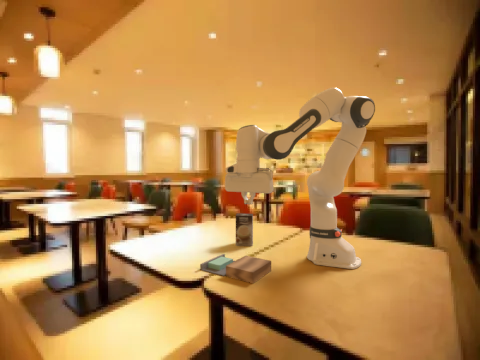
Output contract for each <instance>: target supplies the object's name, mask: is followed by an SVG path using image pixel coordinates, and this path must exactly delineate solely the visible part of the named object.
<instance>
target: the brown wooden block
mask: <svg viewBox="0 0 480 360" xmlns="http://www.w3.org/2000/svg"><path fill="white" fill-rule="evenodd" d="M233 261H234V262H232V263H230V264H228V265H226V277H227V276H228V278H231V277H232V278H231V279H234V278H235V280H238V279H239V280H238V281H242V280H243V282H246V283H249V282H250V284H255V282H257V281H259V280H260V279H261V278H263V277H265V276H266V275H267V274H268V273H270V272H272V260H270V259H269V260H268V259H265V258H259V257H254V256H249V255H244V256H243V257H240V258H238V259H236V260H233Z"/></svg>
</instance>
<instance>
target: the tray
mask: <svg viewBox="0 0 480 360" xmlns="http://www.w3.org/2000/svg"><path fill="white" fill-rule="evenodd" d="M225 255H226V254H225V253H221V254H219V255H217V256H216V257H213V258H211V259H209V260H206V261H204V262H202V263H200V265H199V266H200V267H199V270H200V271H201V272H202V271H203V272H206V273H211V274H214V275H218V276H221V275H222V276H221V277H225V275H226V267H225V268H224V269H222V270H216V269H212V268H208V262H211V261H213V260H215V259H217V258H219V257H226V256H225ZM234 261H235V260H233V262H234Z"/></svg>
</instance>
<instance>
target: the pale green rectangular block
mask: <svg viewBox="0 0 480 360" xmlns="http://www.w3.org/2000/svg"><path fill="white" fill-rule="evenodd" d="M233 261H234V258H229V257H226V256H225V257H219V258H217V259H215V260H213V261H211V262H208V268H212V269H216V270H222V269H224V268H225V267H226V265H228V264H230V263H232V262H233Z"/></svg>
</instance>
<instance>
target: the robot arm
mask: <svg viewBox="0 0 480 360" xmlns="http://www.w3.org/2000/svg"><path fill="white" fill-rule="evenodd" d="M375 112H376V105H375V102H374V100H373V99H372V98H370V97H368V96H364V95H362V96H361V95H360V96H358V95H349V96H344V93H343V92H342V90H341V89H339V88H337V87H329V88H327V89H324V90H323V91H320V92H319V93H317V94H316V95H314V96H313V97H311V98H310V99H308V100H307V101H306V102H305V103H304V104H303V105H302V106H301V107H300V108H299V112H298V113H299V114H298V116H299V118H297V119H296V120H295V121H293V122H292V123H291V124H290V125H288V126H287V127H286V128H283V129H280V130H279V129H278V130H275V131H273V132H271V133H270V132H268V131H265V130H263V129H261V128H260V127H258V125H257V124H249V125H245V126H241V127H240V128H239V129H238V130H237V132H236V140H235V141H236V142H235V144H236V145H235V147H236V148H235V150H236V154H237V156H236V163H235V164H231V165H230V166H227V167H226V168H225V173H226V174H225V177H224V189H225V191H226V192H232V193H233V192H234V193H235V192H236V193H241V197H242V198H243V203H244V205H253V204H254V199H255V197H256V194H271V193H273V192H274V190H275V189H274V182H273V181H274V179H273V176H274V173H273V170H272V169H271V168H269V167H261V165H260V158H262V159H265V160H279V161H280V160H284V159H286V158H288V157H289V156H290V154H291V153H292V151H293V149H294V147H295V146H296V144H298V143H299V141H300V140H301V139H302V138H304V137H305V136H307V135H308V134H309V133H310V132H311V131H312V130H314V129H316V128H318V127H320V126H322V125H324V124H325V123H326V122H328V121H332V122H334V123H341V127H340V130H339V131H338V133H337V135H336V136H335V138H334V140H333V142H332V143H331V144H330V147H329V148H328V150H327V151H326V153H325V158H324V161H323V164H322V167H321V168H320V170H315V171H313V172H312V173H310V175H309V176H308V177H307V179H306V185H307V190H308V199H309V205H310V226H309V239H310V241H309V246H308V247H309V248H308V252H307V256H306V258H307V259H308V260H309V261H310V262H312V263H313V264H314V265H317V266H324V267H325V266H326V267H332V268H338V269H339V268H341V269H349V270H354V269H358V268H359V267H361V265H362V259H361V258H360V257H358V256H357V255H356V250H355V247H354V246H353V245H352V244H351V243H350V242H349V241H347V240H346V239H345V238H344V237H343V236H342V235H343V234H342V233H343V228H342V229H340V228H338V227H337V226H338V225H337V224H338V209H337V207H336V203H335V198H334V197H337V196H339V195H340V194H342V192H343V190H344V188H345V179H346V177H347V174H348V171H349V167H350V165H351V164H352V163H353V160H354V159H355V157H356V155H358V152H359V150H360V149H361V147H362V144H363V142H364V141H365V137H366V134H367V128H366V126H368V125H369V123H370V122H371V120H372V119H373V117H374V115H375ZM248 193H249V196H250V197H248V196H247V195H248Z"/></svg>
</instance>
